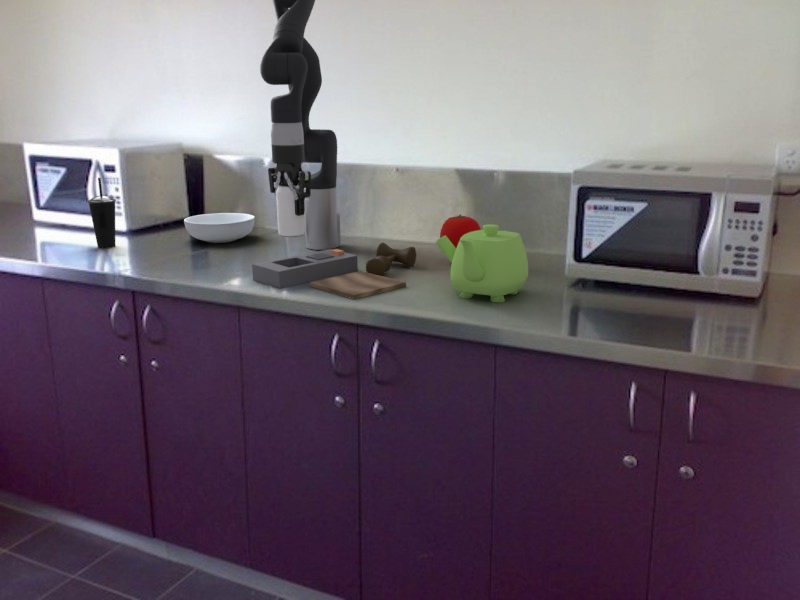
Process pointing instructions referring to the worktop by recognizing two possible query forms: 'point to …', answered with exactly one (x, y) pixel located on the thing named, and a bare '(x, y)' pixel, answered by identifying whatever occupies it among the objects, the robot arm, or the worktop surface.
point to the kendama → (390, 259)
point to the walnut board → (357, 284)
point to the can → (288, 214)
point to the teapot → (487, 262)
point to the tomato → (458, 228)
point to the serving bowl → (219, 226)
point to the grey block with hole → (304, 268)
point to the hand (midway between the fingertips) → (290, 213)
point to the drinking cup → (103, 219)
